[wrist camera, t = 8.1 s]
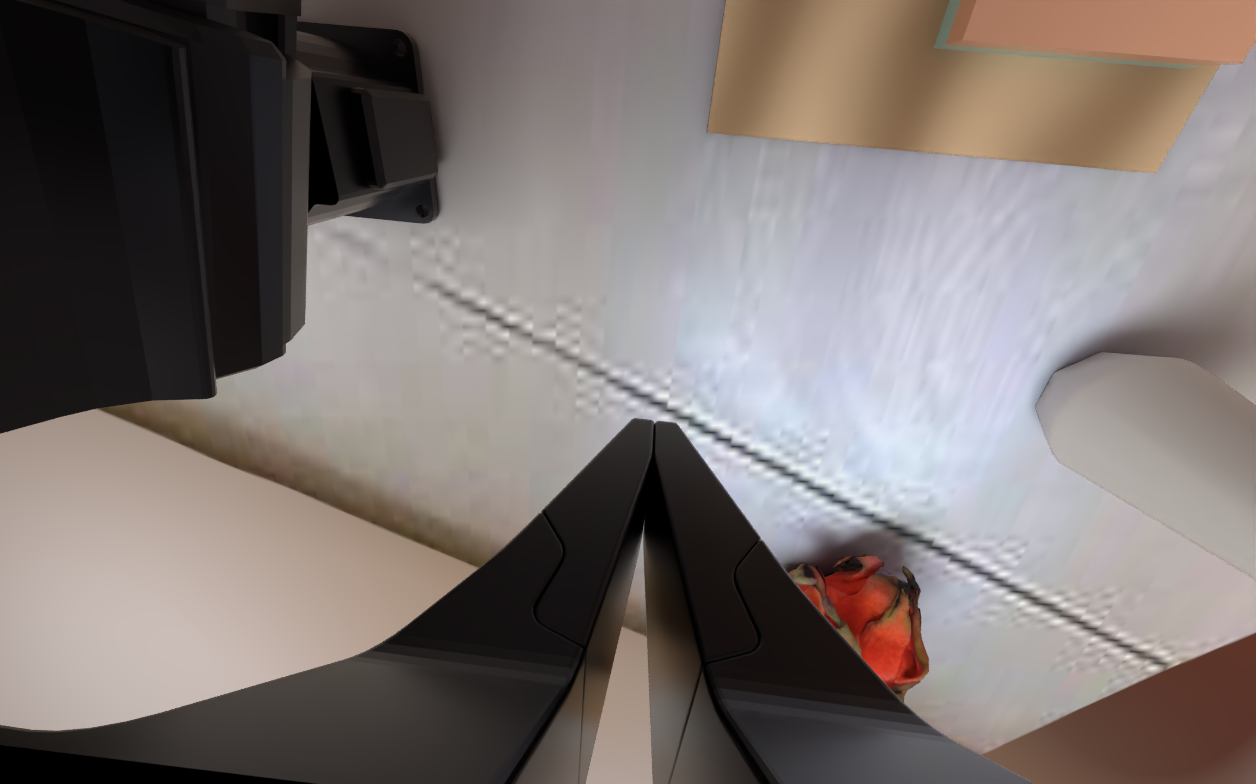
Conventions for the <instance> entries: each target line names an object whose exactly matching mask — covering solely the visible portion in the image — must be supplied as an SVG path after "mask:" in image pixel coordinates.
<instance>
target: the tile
mask: <svg viewBox="0 0 1256 784" xmlns="http://www.w3.org/2000/svg"><path fill="white" fill-rule="evenodd" d="M1255 41H1256V0H949V3H948V6H947V9H946V12H945V15H944V18H943V21H942V24H941V27H940V30H939V33H938V36H937V39H936V42H935V45H934V48H936V49H948V50H960V51H972V52H984V53H996V54H1008V55H1020V56H1033V57H1045V58H1057V59H1069V60H1081V61H1093V62H1105V63H1117V64H1129V65H1141V66H1153V67H1165V68H1178V69H1189V68H1199V67H1209V66H1219V65H1229V64H1238V63H1242V62H1243V61H1244V59H1245V58H1246V56H1247V54H1248V53H1249V51H1250V49H1251V48H1252V46H1253V44H1254V43H1255Z"/></svg>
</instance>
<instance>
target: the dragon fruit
mask: <svg viewBox="0 0 1256 784" xmlns="http://www.w3.org/2000/svg"><path fill="white" fill-rule="evenodd" d="M865 555H866V554H865ZM865 555H861V556H864V557H859V556H857V558H856V557H854V556H847V557H845V558H844V559H841V560H839V561H838V562H837V563H836V564H835V565H834V566H833V567H832V568H834V567H836V566H838V565H840V564H841V563H843V562H845V564H844V565H843V566H841V568H844V569H841V570H839V571H837V572H835V573H834V574H832V575H829V576H827V577H824V575H823V574H822V572H821V570H820V569H819V568H818V567H817V566H815V567H816V568H814V567H813V566H811V565H808V564H801V565H800V566H798V568H797V569H794V570H791V571H790V572H789V573H788V574H789V575H790V577H791V578H792V579H793V581H794V582H795V583H796V584H797V585H798V587H799V588H800V589H801V590H802V591H803V592H804V593H805V595H806V596H807V597H808V598H809V599H810V600H811V602H812V603H813V604H814V605H815V606H816V607H817V608H818V610H819V611H820V612H821V613H822V614H823V615H824V616H825V617H826V619H827V620H828V621H829V622H830V623H831V624H832V625H833V626H834V627H835V629H836V630H837V631H838V632H839V633H840V634H841V635H842V636H843V637H844V638H845V640H846V641H847V642H848V643H849V644H850V645H851V646H852V647H853V648H854V650H855V651H856V652H857V653H858V654H859V655H860V656H861V657H862V658H863V659H864V661H865V662H866V663H867V664H868V665H869V666H870V667H871V668H872V669H873V670H874V672H875V673H876V674H877V675H878V676H879V677H880V678H881V679H882V680H883V682H884V683H885V684H886V685H887V686H888V687H889V688H890V689H891V690H892V691H893V692H894V693H895V694H896V695H897V696H898V697H899V699H900V700H901V701H902V702H903V703H904V696H905V694H906V692H907V690H908V689H910V688H912V687H913V686H915V685H916V684H918V683H919V682H920V680H922V679H923V678H924V677H925V675H926V674H927V673H928V672H929V659H928V655H927V653H926V650H925V648H924V644H923V641H922V637H921V613H920V608H918V605H917V604H918V598H919V595H920V591H921V590H920V588H919V586H918V584H917V582H915V577H914V576H913V574H912V573H911V572H910V571H909V570H908V569H907V568H906V567H904V566H903V569H902V570H903V573H904V574H905V576H906V578H907V582H908V583H906V582H903V581H901V580H899V579H898V578H897V577H895V576H894V577H888V576H884V575H882V574H876V573H875V572H876V571H877V570H878V569H879V568H880V567H881V568H882V567H883V565H884V562H883V560H882V559H880V558H879V557H878V556H876V555H869V556H865ZM859 563H861V564H862V565H863V568H858V569H853V568H846V567H849V566H853V565H855V564H859ZM886 571H887V570H886ZM890 574H891V573H890ZM902 580H903V579H902Z"/></svg>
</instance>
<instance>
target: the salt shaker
mask: <svg viewBox="0 0 1256 784" xmlns="http://www.w3.org/2000/svg"><path fill="white" fill-rule="evenodd" d="M1035 408H1036V411H1037V414H1038V417H1039V420H1040V423H1041V426H1042V429H1043V432H1044V435H1045V437H1046V440H1047V442H1048V445H1049V447H1050V449H1051V452H1052V454H1053V455H1054V457H1055V458H1056V459H1057V460H1058V462H1059V463H1061V464H1062V465H1064V466H1066V467H1067V468H1069V469H1071V470H1073V471H1074V472H1076V473H1078V474H1079V475H1081V476H1083V477H1084V478H1086V479H1088V480H1089V481H1091V482H1093V483H1094V484H1096V485H1098V486H1099V487H1101V488H1103V489H1104V490H1106V491H1108V492H1109V493H1111V494H1113V495H1114V496H1116V497H1118V498H1119V499H1121V500H1123V501H1124V502H1126V503H1128V504H1129V505H1131V506H1133V507H1134V508H1136V509H1138V510H1139V511H1141V512H1143V513H1144V514H1146V515H1148V516H1149V517H1151V518H1153V519H1154V520H1156V521H1158V522H1159V523H1161V524H1163V525H1164V526H1166V527H1168V528H1169V529H1171V530H1173V531H1174V532H1176V533H1177V534H1179V535H1181V536H1182V537H1184V538H1186V539H1187V540H1189V541H1191V542H1192V543H1194V544H1196V545H1197V546H1199V547H1201V548H1202V549H1204V550H1206V551H1207V552H1209V553H1211V554H1212V555H1214V556H1216V557H1217V558H1219V559H1221V560H1222V561H1224V562H1226V563H1227V564H1229V565H1231V566H1232V567H1234V568H1236V569H1237V570H1239V571H1241V572H1242V573H1244V574H1246V575H1247V576H1249V577H1251V578H1252V579H1254V580H1256V405H1255V404H1253V403H1252V402H1250V401H1249V400H1248V399H1246V398H1245V397H1244V396H1242V395H1241V394H1240V393H1238V392H1237V391H1235V390H1234V389H1233V388H1231V387H1230V386H1229V385H1227V384H1226V383H1225V382H1223V381H1222V380H1221V379H1219V378H1218V377H1216V376H1215V375H1213V374H1211V373H1210V372H1208V371H1207V370H1205V369H1204V368H1202V367H1200V366H1199V365H1197V364H1196V363H1194V362H1191V361H1187V360H1184V359H1181V358H1172V357H1158V356H1144V355H1132V354H1119V353H1107V352H1100V353H1097V354H1095V355H1093V356H1090V357H1088V358H1086V359H1084V360H1081V361H1079V362H1077V363H1075V364H1072V365H1070V366H1068V367H1065V368H1063V369H1061V370H1059V371H1056V372H1054V373H1053V375H1052V377H1051V379H1050V381H1049V382H1048V384H1047V386H1046V388H1045V390H1044V391H1043V393H1042V395H1041V397H1040V398H1039V400H1038V402H1037V404H1036V406H1035Z"/></svg>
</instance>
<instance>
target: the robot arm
mask: <svg viewBox="0 0 1256 784" xmlns="http://www.w3.org/2000/svg"><path fill="white" fill-rule="evenodd" d="M297 16H301V0H0V433H4V432H8V431H11V430H15V429H18V428H22V427H26V426H29V425H33V424H37V423H40V422H44V421H47V420H51V419H55V418H58V417H62V416H67V415H71V414H75V413H79V412H83V411H88V410H92V409H96V408H102V407H109V406H116V405H124V404H131V403H138V402H145V401H152V400H185V399H208V398H212V397H214V396H215V395H216V394H217V387H216V379H218V378H222V377H226V376H229V375H233V374H237V373H240V372H244V371H248V370H251V369H255V368H257V367H260V366H262V365H264V364H266V363H268V362H270V361H272V360H274V359H277V358H279V357H281V356H283V355H284V354H285V353H286V343H287V342H289V341H290V340H291V339H292V338H293V337H294V336H295V335H296V334H297V332H298V331H299V330H300V329H301V328H302V327H303V325H304V324H305V308H306V269H307V230H308V225H312V224H315V223H319V222H322V221H326V220H329V219H333V218H336V217H340V216H353V217H363V218H373V219H383V220H393V221H403V222H413V223H423V224H425V223H430V222H432V221H434V220H435V219H436V218H437V216H438V206H437V198H436V190H435V182H434V176H435V175H436V174H437V172H438V168H437V160H436V152H435V143H434V135H433V126H432V118H431V109H430V103H429V101H428V100H427V98H426V97H425V96H424V92H423V84H422V76H421V67H420V59H419V51H418V47H417V44H416V42H415V40H414V39H413V37H411V36H410V35H409V34H407V33H404V32H401V31H398V30H390V29H379V28H367V27H355V26H343V25H332V24H320V23H308V22H297ZM400 41H403V42H404V43H405V45H406V54H405V55H404V56H402V55H401V54H400V53H399V50H398V44H399V42H400ZM421 205H424V206H425V207H426V208H427V210H428V215H427V216H426V215H424V214H423V213H422V212H421ZM644 518H645V519H644ZM643 526H644V533H643ZM642 533H643V548H644V573H645V598H646V624H647V648H648V673H649V699H650V724H651V747H652V774H653V784H1035V783H1033V782H1031V781H1029V780H1027V779H1025V778H1023V777H1021V776H1020V775H1018V774H1016V773H1014V772H1012V771H1010V770H1008V769H1006V768H1004V767H1002V766H1000V765H998V764H996V763H995V762H993V761H991V760H989V759H987V758H985V757H983V756H981V755H979V754H977V753H975V752H974V751H972V750H970V749H968V748H966V747H964V746H962V745H960V744H958V743H957V742H955V741H953V740H951V739H949V738H948V737H946V736H945V735H943V734H942V733H940V732H939V731H937V730H936V729H934V728H933V727H932V726H930V725H929V724H928V723H927V722H925V721H924V720H923V719H921V718H920V717H919V716H918V715H917V714H916V713H914V712H913V711H912V710H911V709H910V708H909V707H908V706H907V705H906V704H905V703H903V702H902V701H901V700H900V699H899V697H898V696H897V695H896V694H895V693H894V692H893V691H892V690H891V689H890V688H889V687H888V686H887V685H886V684H885V683H884V682H883V680H882V679H881V678H880V677H879V676H878V675H877V674H876V673H875V672H874V670H873V669H872V668H871V667H870V666H869V665H868V664H867V663H866V662H865V661H864V659H863V658H862V657H861V656H860V655H859V654H858V653H857V652H856V651H855V650H854V648H853V647H852V646H851V645H850V644H849V643H848V642H847V641H846V640H845V638H844V637H843V636H842V635H841V634H840V633H839V632H838V631H837V630H836V629H835V627H834V626H833V625H832V624H831V623H830V622H829V621H828V620H827V619H826V617H825V616H824V615H823V614H822V613H821V612H820V611H819V610H818V608H817V607H816V606H815V605H814V604H813V603H812V602H811V600H810V599H809V598H808V597H807V596H806V595H805V593H804V592H803V591H802V590H801V589H800V588H799V587H798V585H797V584H796V583H795V582H794V581H793V579H792V578H791V577H790V575H789V574H788V573H787V572H786V570H785V569H784V568H783V566H782V565H781V564H780V563H779V561H778V560H777V559H776V557H775V556H774V555H773V553H772V552H771V551H770V549H769V548H768V547H767V545H766V544H765V542H764V541H763V540H761V538H760V536H759V535H758V533H757V532H756V530H755V529H754V528H753V526H752V525H751V524H750V522H749V521H748V520H747V518H746V517H745V515H744V514H743V513H742V511H741V510H740V509H739V507H738V506H737V504H736V503H735V502H734V500H733V499H732V498H731V496H730V495H729V494H728V492H727V491H726V489H725V488H724V487H723V485H722V484H721V483H720V481H719V480H718V479H717V477H716V476H715V474H714V473H713V472H712V470H711V469H710V468H709V466H708V465H707V464H706V462H705V461H704V459H703V458H702V457H701V455H700V454H699V453H698V451H697V450H696V449H695V447H694V446H693V444H692V443H691V442H690V440H689V439H688V438H687V436H686V435H685V433H684V432H683V431H682V429H681V428H680V427H679V425H678V424H677V423H674V422H664V421H657V422H656V423H655V424H654V421H652V420H647V419H638V418H634V419H632V420H631V421H630V422H629V423H628V424H627V425H626V426H625V427H624V428H623V429H622V430H621V431H620V432H619V433H618V434H617V435H616V436H615V437H614V438H613V439H612V440H611V441H610V442H609V443H608V444H607V445H606V446H605V447H604V448H603V449H602V450H601V451H600V452H599V453H598V454H597V455H596V456H595V457H594V458H593V459H592V460H591V462H590V463H589V464H588V465H587V466H586V467H585V468H584V469H583V470H582V471H581V472H580V473H579V474H578V475H577V476H576V477H575V478H574V479H573V480H572V481H571V482H570V483H569V484H568V485H567V486H566V487H565V488H564V489H563V490H562V491H561V492H560V493H559V494H558V495H557V496H556V497H555V498H554V499H553V500H552V501H551V502H550V503H549V504H548V505H547V506H546V507H545V508H544V509H543V510H542V512H541V513H539V514H538V515H537V516H536V517H535V518H534V519H533V520H532V521H531V522H530V523H529V524H528V525H527V526H526V527H525V528H524V529H523V530H522V531H521V532H520V533H519V534H518V535H517V536H515V537H514V538H513V539H512V540H511V541H510V542H509V543H508V544H507V545H506V546H505V547H504V548H502V549H501V550H500V551H499V552H498V553H496V554H495V555H494V556H493V557H492V558H490V559H489V560H488V561H487V562H486V563H485V564H483V565H482V566H481V567H480V568H479V569H477V570H476V571H475V572H474V573H472V574H471V575H470V576H469V577H467V578H466V579H465V580H463V581H462V582H461V583H460V584H458V585H457V586H456V587H455V588H453V589H452V590H451V591H450V592H448V593H447V594H446V595H445V596H443V597H442V598H441V599H439V600H438V601H437V602H436V603H434V604H433V605H432V606H431V607H429V608H428V609H427V610H426V611H424V612H423V613H422V614H421V615H419V616H418V617H417V618H415V619H414V620H413V621H412V622H410V623H409V624H408V625H407V626H405V627H404V628H403V629H401V630H400V631H398V632H397V633H396V634H394V635H393V636H391V637H390V638H388V639H386V640H385V641H383V642H382V643H380V644H378V645H376V646H374V647H373V648H371V649H369V650H367V651H365V652H363V653H360V654H358V655H356V656H353V657H350V658H348V659H344V660H342V661H338V662H335V663H331V664H327V665H324V666H321V667H318V668H314V669H310V670H307V671H303V672H300V673H296V674H293V675H289V676H286V677H282V678H279V679H276V680H272V681H269V682H265V683H262V684H258V685H255V686H252V687H248V688H245V689H241V690H238V691H234V692H231V693H228V694H224V695H220V696H217V697H213V698H210V699H207V700H203V701H200V702H196V703H193V704H190V705H186V706H182V707H179V708H175V709H172V710H169V711H165V712H162V713H158V714H154V715H150V716H146V717H142V718H138V719H134V720H130V721H126V722H121V723H115V724H110V725H104V726H99V727H93V728H84V729H73V730H61V731H47V730H30V729H23V728H16V727H9V726H2V725H0V784H585V783H586V779H587V774H588V770H589V766H590V761H591V757H592V753H593V748H594V744H595V740H596V735H597V731H598V727H599V722H600V718H601V714H602V709H603V705H604V701H605V696H606V692H607V687H608V683H609V679H610V675H611V670H612V666H613V661H614V657H615V653H616V649H617V644H618V640H619V636H620V631H621V627H622V623H623V618H624V614H625V610H626V605H627V601H628V596H629V592H630V588H631V583H632V579H633V575H634V570H635V566H636V562H637V557H638V553H639V549H640V544H641V539H642Z"/></svg>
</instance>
